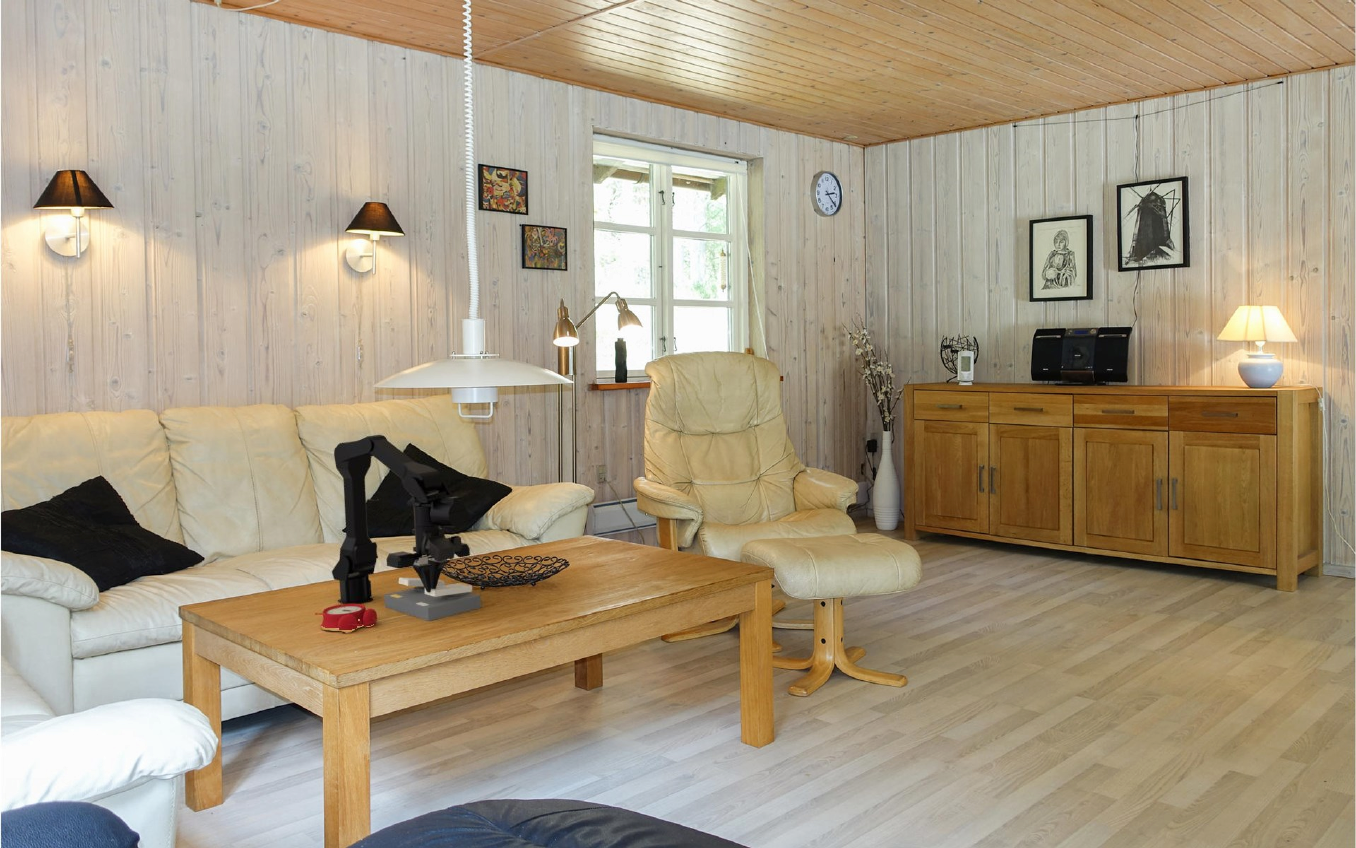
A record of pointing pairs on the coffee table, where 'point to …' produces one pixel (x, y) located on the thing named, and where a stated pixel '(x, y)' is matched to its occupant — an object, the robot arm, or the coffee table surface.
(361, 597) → the robot arm
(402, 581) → the bar
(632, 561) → the coffee table surface
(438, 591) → the bar
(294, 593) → the coffee table surface
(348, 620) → the alarm clock
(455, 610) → the switch box
